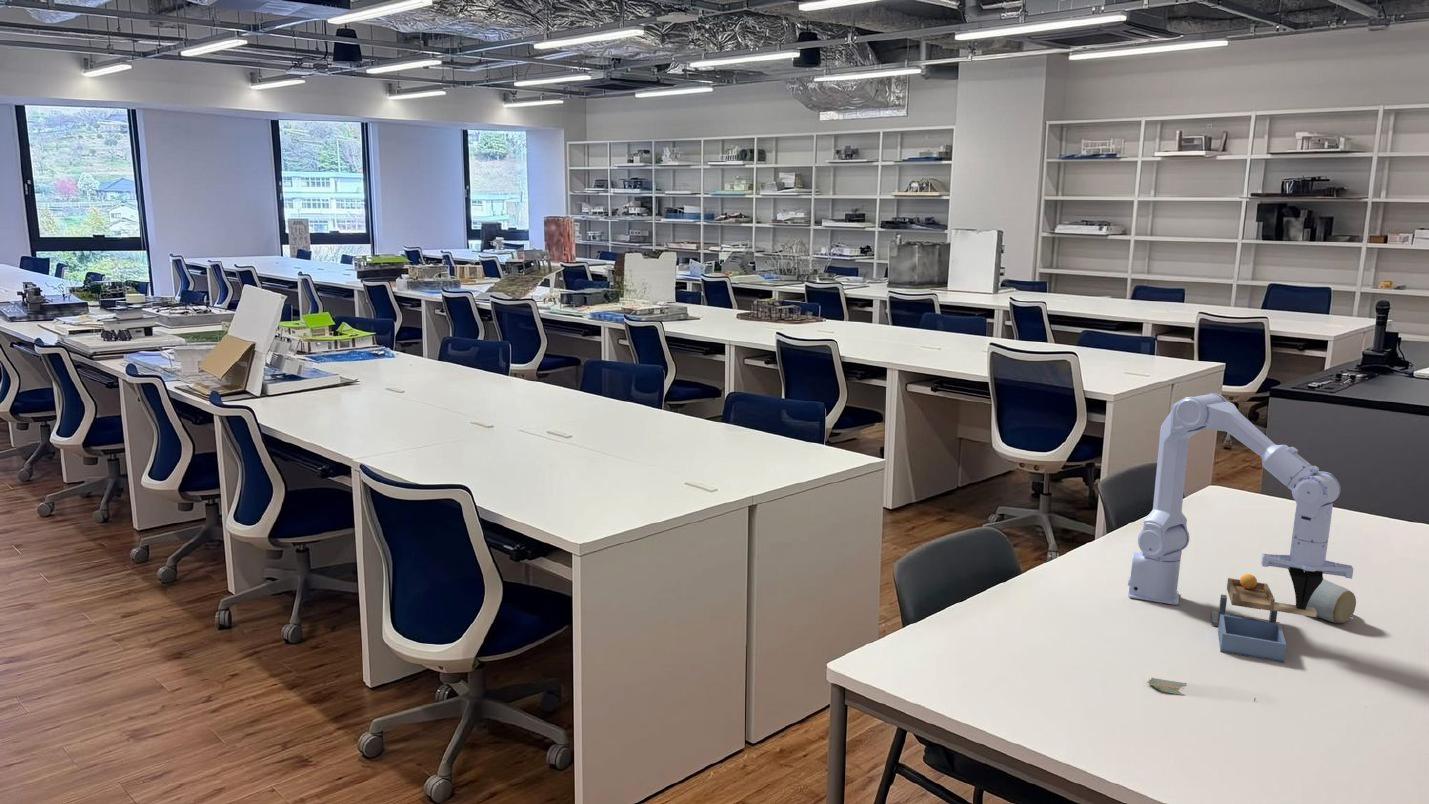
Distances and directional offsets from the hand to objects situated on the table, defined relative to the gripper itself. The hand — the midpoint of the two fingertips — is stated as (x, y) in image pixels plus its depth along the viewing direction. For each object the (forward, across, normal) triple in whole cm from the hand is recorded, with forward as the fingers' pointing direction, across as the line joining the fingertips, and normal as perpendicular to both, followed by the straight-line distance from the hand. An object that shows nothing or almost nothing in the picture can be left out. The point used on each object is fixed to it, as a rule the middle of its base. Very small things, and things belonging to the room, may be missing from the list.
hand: (1300, 608), depth 188 cm
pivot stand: (+7, -8, +5) cm, 12 cm away
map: (+8, -15, -29) cm, 34 cm away
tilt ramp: (+4, -5, +5) cm, 8 cm away
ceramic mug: (+7, +7, +19) cm, 21 cm away
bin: (+7, -8, -5) cm, 12 cm away
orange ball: (0, -8, +10) cm, 13 cm away
